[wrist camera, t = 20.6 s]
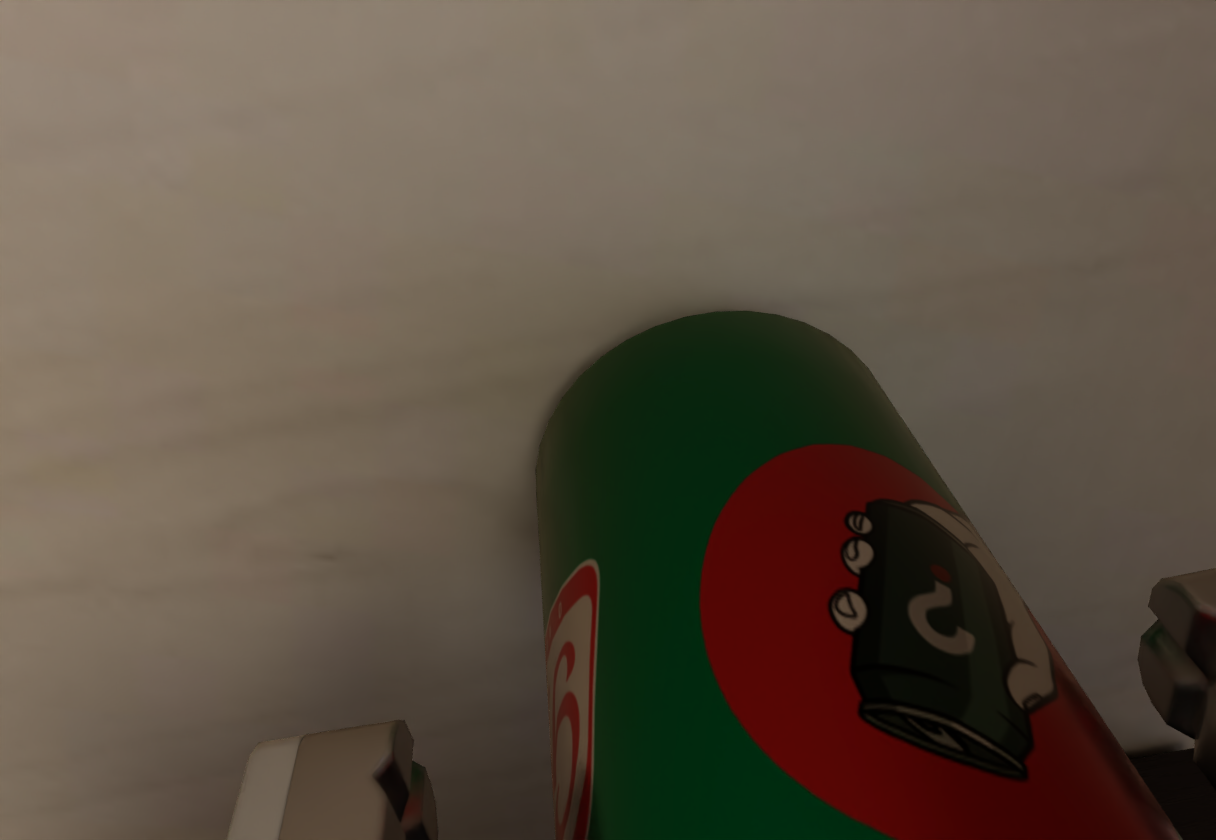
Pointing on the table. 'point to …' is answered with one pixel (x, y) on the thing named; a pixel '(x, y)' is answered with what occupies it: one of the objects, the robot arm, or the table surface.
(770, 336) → the soda can
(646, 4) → the table surface
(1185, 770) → the oven door
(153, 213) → the table surface
